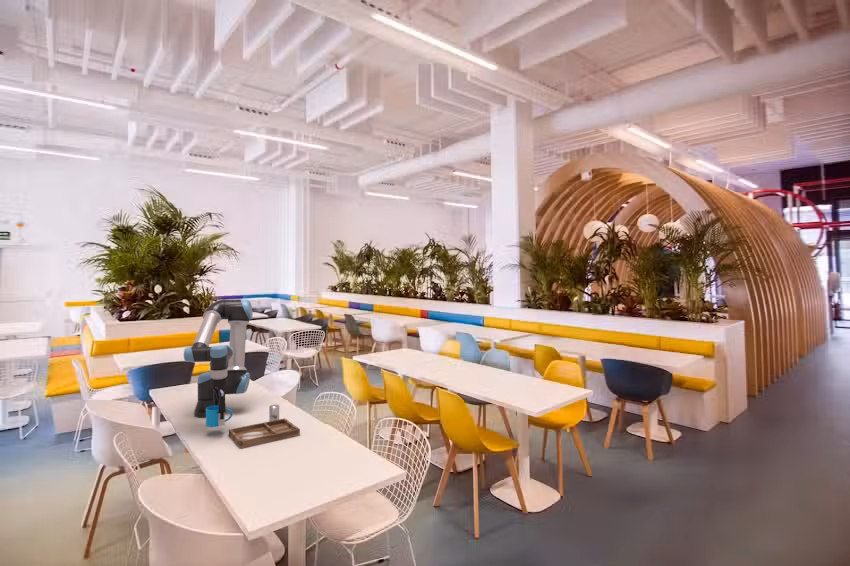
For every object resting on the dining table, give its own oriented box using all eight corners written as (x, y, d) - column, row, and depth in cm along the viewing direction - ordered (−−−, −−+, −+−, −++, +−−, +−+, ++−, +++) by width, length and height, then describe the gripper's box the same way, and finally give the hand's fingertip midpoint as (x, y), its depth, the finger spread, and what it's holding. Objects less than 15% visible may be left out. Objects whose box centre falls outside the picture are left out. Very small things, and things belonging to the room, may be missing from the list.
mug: (206, 428, 211) (206, 411, 211) (205, 422, 218) (205, 406, 218) (233, 424, 217) (233, 407, 217) (231, 418, 224) (231, 403, 224)
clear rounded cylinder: (268, 422, 234) (268, 405, 233) (277, 420, 237) (277, 404, 237) (271, 425, 230) (271, 408, 230) (280, 423, 233) (280, 406, 233)
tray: (228, 435, 215) (228, 429, 215) (285, 423, 232) (285, 418, 232) (240, 448, 199) (240, 442, 199) (299, 435, 216) (299, 429, 216)
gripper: (206, 374, 223) (206, 418, 224) (215, 383, 206) (216, 431, 207) (221, 371, 227) (222, 415, 229) (232, 381, 211) (232, 427, 212)
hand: (219, 422), depth 218 cm, fingers closed on mug, 8 cm apart
